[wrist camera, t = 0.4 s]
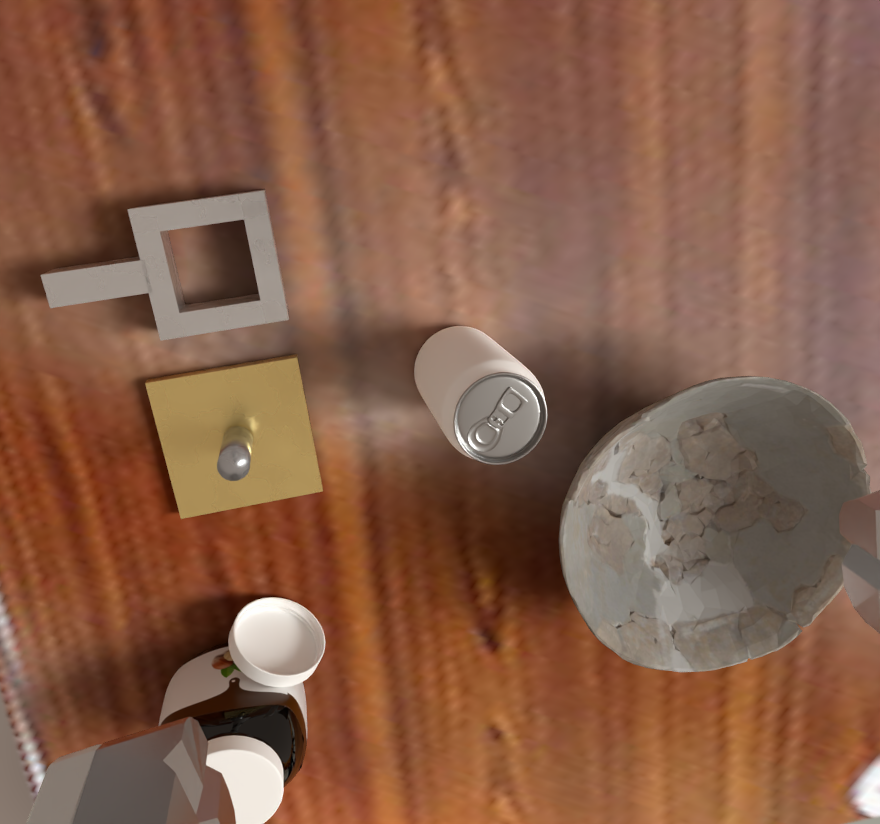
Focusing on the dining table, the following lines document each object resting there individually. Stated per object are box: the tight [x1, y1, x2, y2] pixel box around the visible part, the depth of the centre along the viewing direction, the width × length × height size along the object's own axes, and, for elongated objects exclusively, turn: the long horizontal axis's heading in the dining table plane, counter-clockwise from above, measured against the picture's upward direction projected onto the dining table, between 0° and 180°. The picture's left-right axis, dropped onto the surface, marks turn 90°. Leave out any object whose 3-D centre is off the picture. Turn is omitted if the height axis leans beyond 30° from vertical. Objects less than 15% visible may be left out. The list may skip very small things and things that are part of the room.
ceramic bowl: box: [559, 376, 871, 672], centre depth 57 cm, size 22×23×10 cm
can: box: [414, 326, 547, 465], centre depth 50 cm, size 6×6×12 cm
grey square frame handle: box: [41, 189, 289, 340], centre depth 48 cm, size 14×8×3 cm, turn 97°
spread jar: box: [159, 597, 325, 824], centre depth 54 cm, size 12×11×12 cm
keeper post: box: [145, 354, 323, 519], centre depth 51 cm, size 10×10×6 cm
